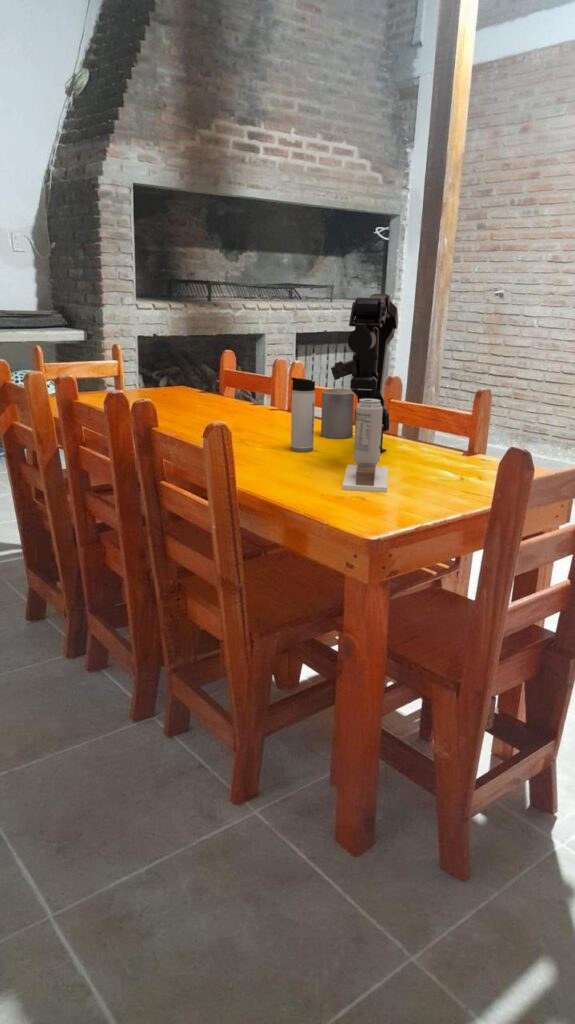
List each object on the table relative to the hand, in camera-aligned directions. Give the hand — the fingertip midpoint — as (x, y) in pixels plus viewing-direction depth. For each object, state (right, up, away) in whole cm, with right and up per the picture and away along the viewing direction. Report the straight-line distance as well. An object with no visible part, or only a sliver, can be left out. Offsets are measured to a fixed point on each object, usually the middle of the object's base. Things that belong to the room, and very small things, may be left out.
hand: (363, 413), depth 182 cm
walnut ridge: (-1, -17, -12) cm, 21 cm away
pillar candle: (-4, -2, +38) cm, 38 cm away
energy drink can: (-1, -14, -14) cm, 20 cm away
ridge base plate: (-1, -17, -12) cm, 21 cm away
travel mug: (-15, -8, +18) cm, 25 cm away
